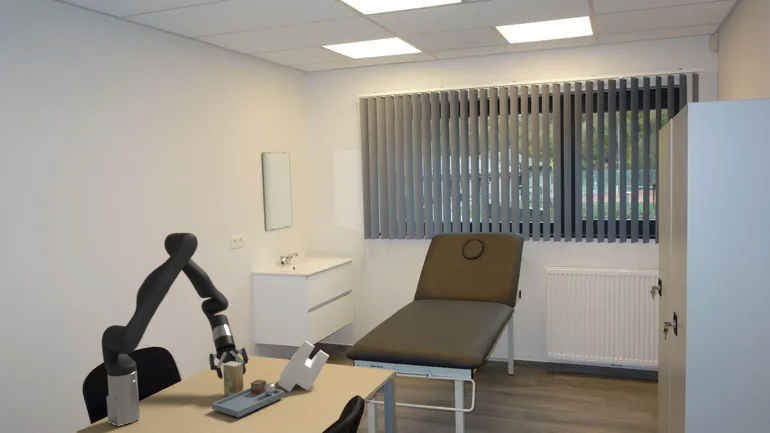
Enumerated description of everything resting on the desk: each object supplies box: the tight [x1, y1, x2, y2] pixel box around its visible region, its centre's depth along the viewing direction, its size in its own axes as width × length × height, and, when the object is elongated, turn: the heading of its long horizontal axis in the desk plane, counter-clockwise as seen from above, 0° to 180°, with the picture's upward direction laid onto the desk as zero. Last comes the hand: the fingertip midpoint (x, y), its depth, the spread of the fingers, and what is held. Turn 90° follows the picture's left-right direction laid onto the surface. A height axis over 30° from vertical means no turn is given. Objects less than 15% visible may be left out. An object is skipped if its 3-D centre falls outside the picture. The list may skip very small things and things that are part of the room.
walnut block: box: [250, 379, 267, 395], centre depth 225 cm, size 4×4×4 cm
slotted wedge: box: [277, 340, 330, 393], centre depth 236 cm, size 14×11×18 cm
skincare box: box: [222, 361, 244, 397], centre depth 228 cm, size 6×4×12 cm
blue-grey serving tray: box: [211, 387, 286, 419], centre depth 217 cm, size 22×14×3 cm, turn 144°
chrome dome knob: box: [265, 382, 276, 397], centre depth 221 cm, size 4×4×4 cm
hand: (232, 375), depth 228 cm, fingers open, 8 cm apart
